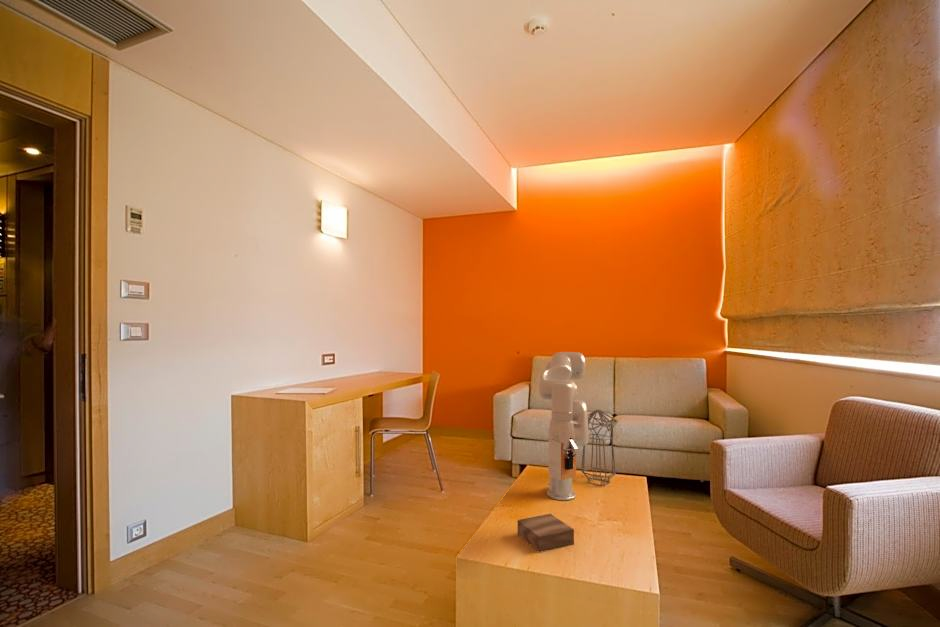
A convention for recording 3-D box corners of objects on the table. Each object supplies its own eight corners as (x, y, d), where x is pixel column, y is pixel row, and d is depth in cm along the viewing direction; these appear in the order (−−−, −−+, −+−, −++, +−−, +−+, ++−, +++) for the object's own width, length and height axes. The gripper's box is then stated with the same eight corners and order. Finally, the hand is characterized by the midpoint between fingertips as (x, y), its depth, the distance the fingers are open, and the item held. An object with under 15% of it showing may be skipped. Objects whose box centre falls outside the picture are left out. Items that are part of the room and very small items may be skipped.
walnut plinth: (517, 534, 154) (517, 520, 155) (550, 527, 160) (550, 513, 160) (539, 552, 141) (539, 536, 142) (573, 544, 147) (573, 529, 147)
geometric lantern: (576, 482, 210) (575, 409, 213) (592, 475, 221) (591, 406, 224) (606, 490, 199) (605, 413, 202) (621, 482, 210) (620, 409, 213)
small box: (561, 481, 151) (561, 443, 152) (548, 476, 156) (548, 439, 157) (576, 477, 155) (576, 440, 156) (563, 472, 161) (563, 437, 161)
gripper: (539, 413, 163) (539, 461, 162) (568, 421, 148) (569, 474, 146) (556, 412, 166) (556, 459, 165) (586, 419, 151) (586, 471, 150)
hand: (562, 465), depth 156 cm, fingers closed on small box, 6 cm apart
